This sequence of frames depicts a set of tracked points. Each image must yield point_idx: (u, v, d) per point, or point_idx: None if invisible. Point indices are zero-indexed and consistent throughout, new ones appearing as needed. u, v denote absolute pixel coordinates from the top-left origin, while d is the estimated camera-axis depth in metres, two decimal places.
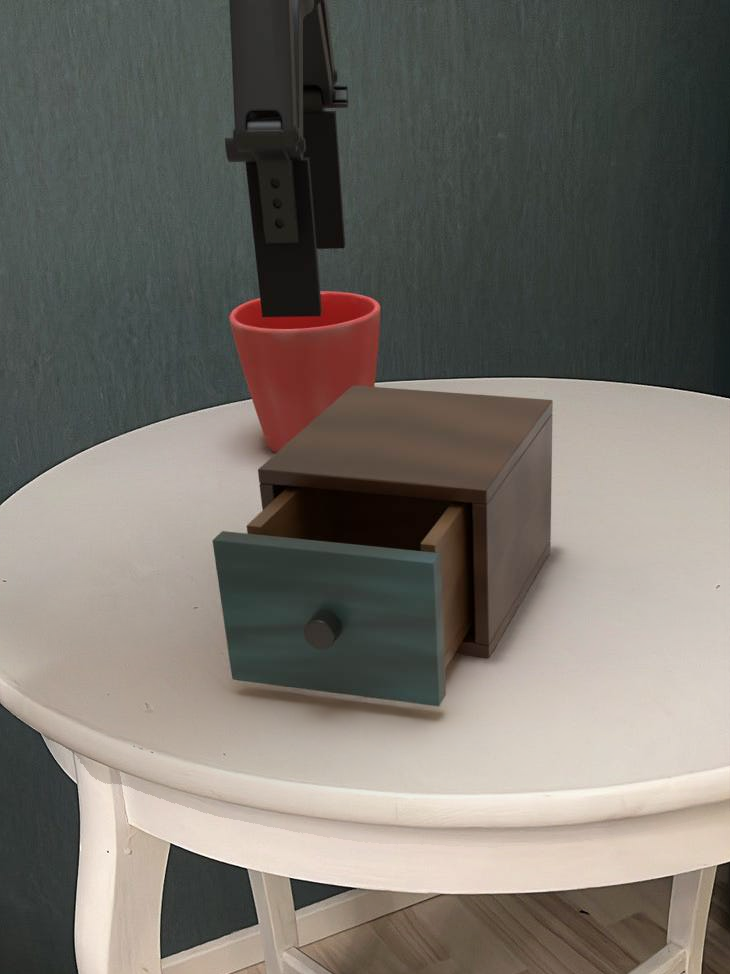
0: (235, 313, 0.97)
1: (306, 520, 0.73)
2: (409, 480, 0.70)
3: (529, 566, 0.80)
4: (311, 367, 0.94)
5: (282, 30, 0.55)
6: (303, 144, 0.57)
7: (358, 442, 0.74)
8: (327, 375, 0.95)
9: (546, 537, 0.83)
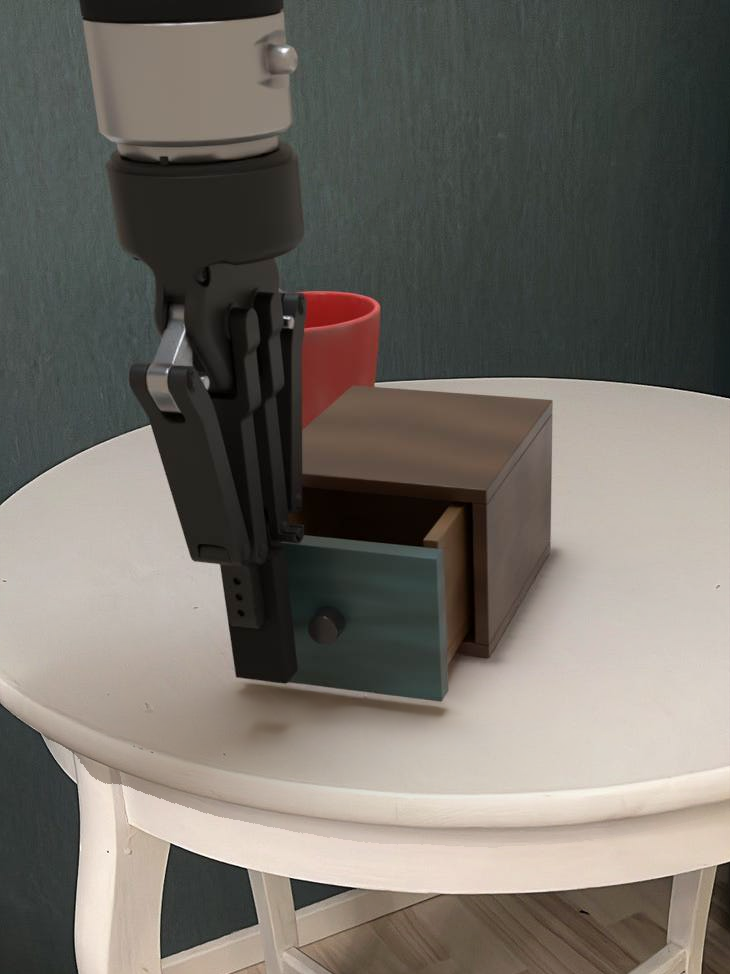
0: None
1: (309, 517, 0.74)
2: (409, 480, 0.70)
3: (529, 566, 0.80)
4: (311, 367, 0.94)
5: (214, 488, 0.57)
6: (263, 554, 0.61)
7: (358, 442, 0.74)
8: (327, 375, 0.95)
9: (546, 537, 0.83)
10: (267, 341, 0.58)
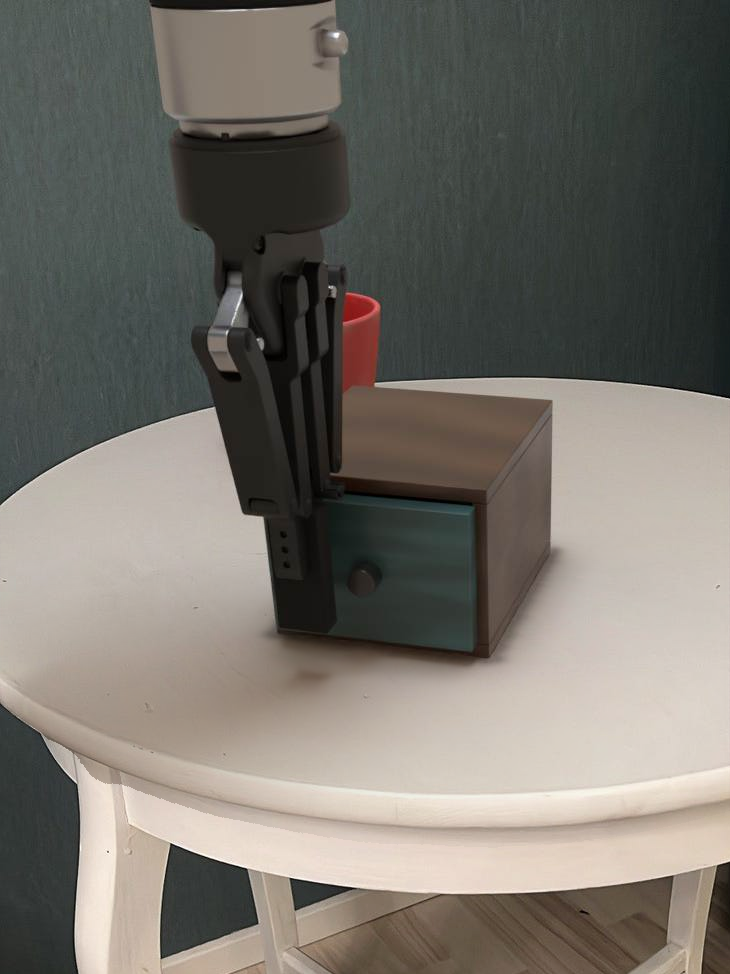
0: None
1: None
2: (409, 480, 0.70)
3: (529, 566, 0.80)
4: None
5: (266, 443, 0.61)
6: (308, 508, 0.66)
7: (358, 442, 0.74)
8: None
9: (546, 537, 0.83)
10: (314, 307, 0.62)
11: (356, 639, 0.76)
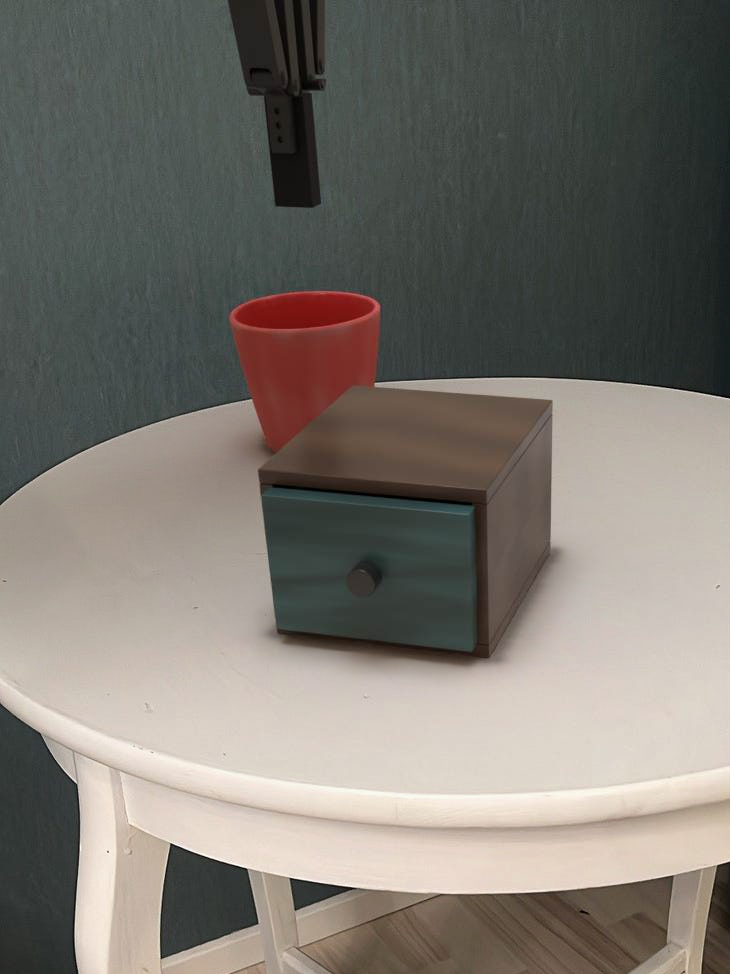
0: (235, 313, 0.97)
1: None
2: (409, 480, 0.70)
3: (529, 566, 0.80)
4: (311, 367, 0.94)
5: (262, 13, 0.80)
6: (296, 87, 0.85)
7: (358, 442, 0.74)
8: (327, 375, 0.95)
9: (546, 537, 0.83)
10: None
11: (356, 639, 0.76)
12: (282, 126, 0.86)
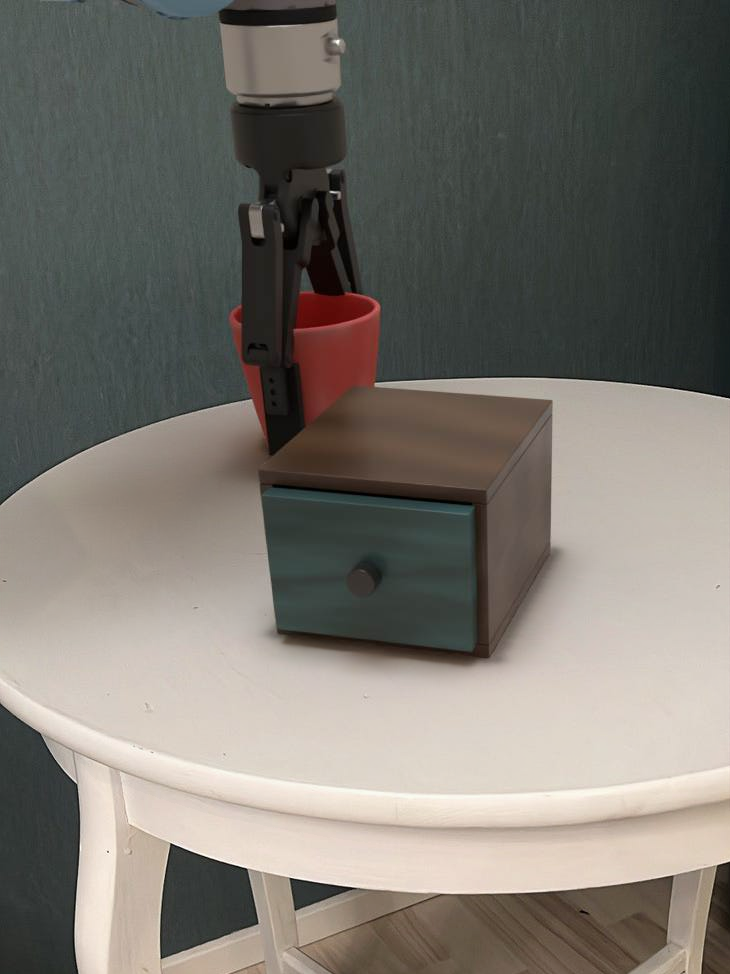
0: (235, 313, 0.97)
1: None
2: (409, 480, 0.70)
3: (529, 566, 0.80)
4: (311, 367, 0.94)
5: (271, 296, 0.89)
6: (289, 359, 0.92)
7: (358, 442, 0.74)
8: (327, 375, 0.95)
9: (546, 537, 0.83)
10: (326, 220, 0.94)
11: (356, 639, 0.76)
12: (276, 393, 0.94)
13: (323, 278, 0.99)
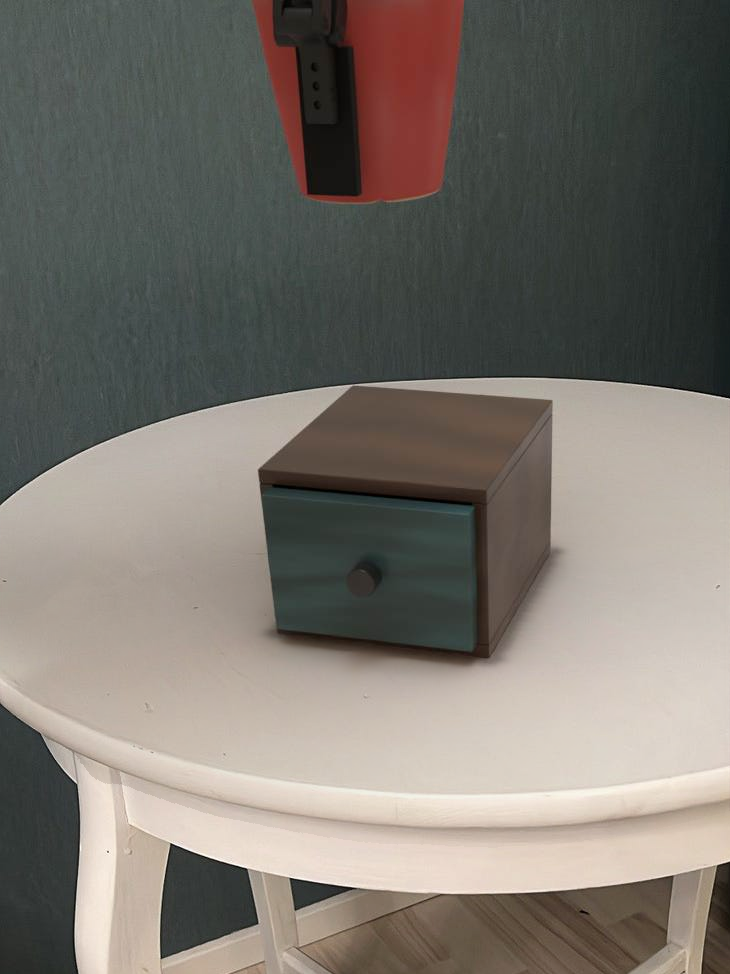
0: None
1: None
2: (409, 480, 0.70)
3: (529, 566, 0.80)
4: (371, 54, 0.66)
5: None
6: (341, 32, 0.64)
7: (358, 442, 0.74)
8: (393, 69, 0.66)
9: (546, 537, 0.83)
10: None
11: (356, 639, 0.76)
12: (321, 87, 0.65)
13: None
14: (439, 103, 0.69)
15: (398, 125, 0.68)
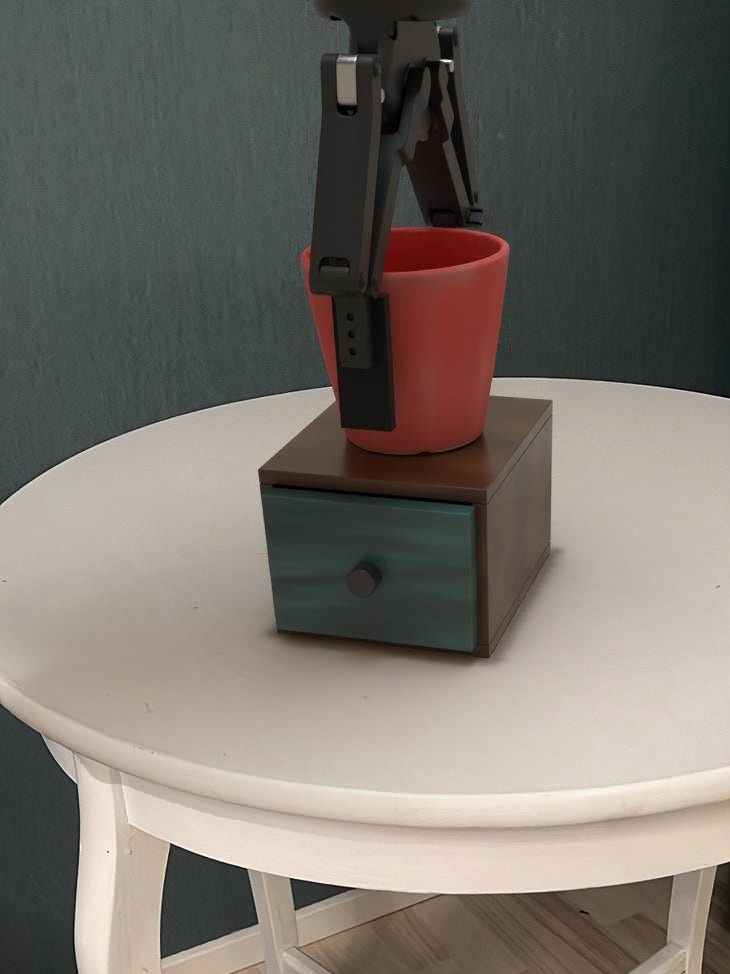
0: (308, 254, 0.70)
1: None
2: (409, 480, 0.70)
3: (529, 566, 0.80)
4: (417, 327, 0.67)
5: (359, 187, 0.60)
6: (377, 284, 0.63)
7: None
8: (439, 339, 0.68)
9: (546, 537, 0.83)
10: (439, 103, 0.67)
11: (356, 639, 0.76)
12: (356, 335, 0.65)
13: (430, 179, 0.72)
14: (483, 362, 0.71)
15: (443, 387, 0.70)
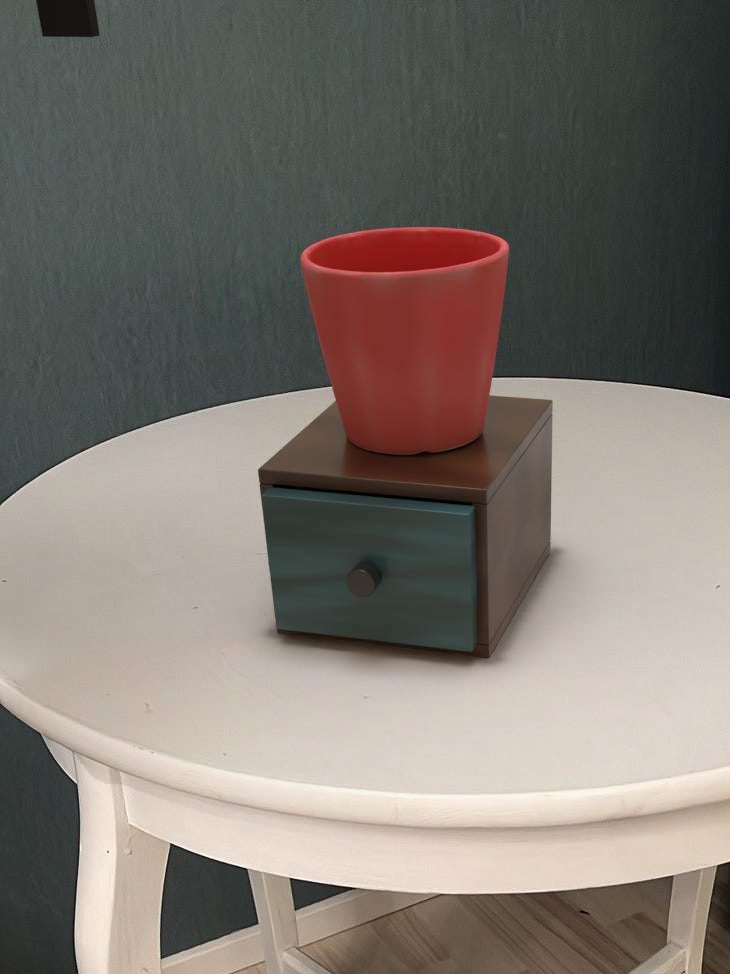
0: (308, 254, 0.70)
1: None
2: (409, 480, 0.70)
3: (529, 566, 0.80)
4: (417, 327, 0.67)
5: None
6: None
7: None
8: (438, 339, 0.68)
9: (546, 537, 0.83)
10: None
11: (356, 639, 0.76)
12: None
13: None
14: (482, 361, 0.71)
15: (443, 386, 0.70)
